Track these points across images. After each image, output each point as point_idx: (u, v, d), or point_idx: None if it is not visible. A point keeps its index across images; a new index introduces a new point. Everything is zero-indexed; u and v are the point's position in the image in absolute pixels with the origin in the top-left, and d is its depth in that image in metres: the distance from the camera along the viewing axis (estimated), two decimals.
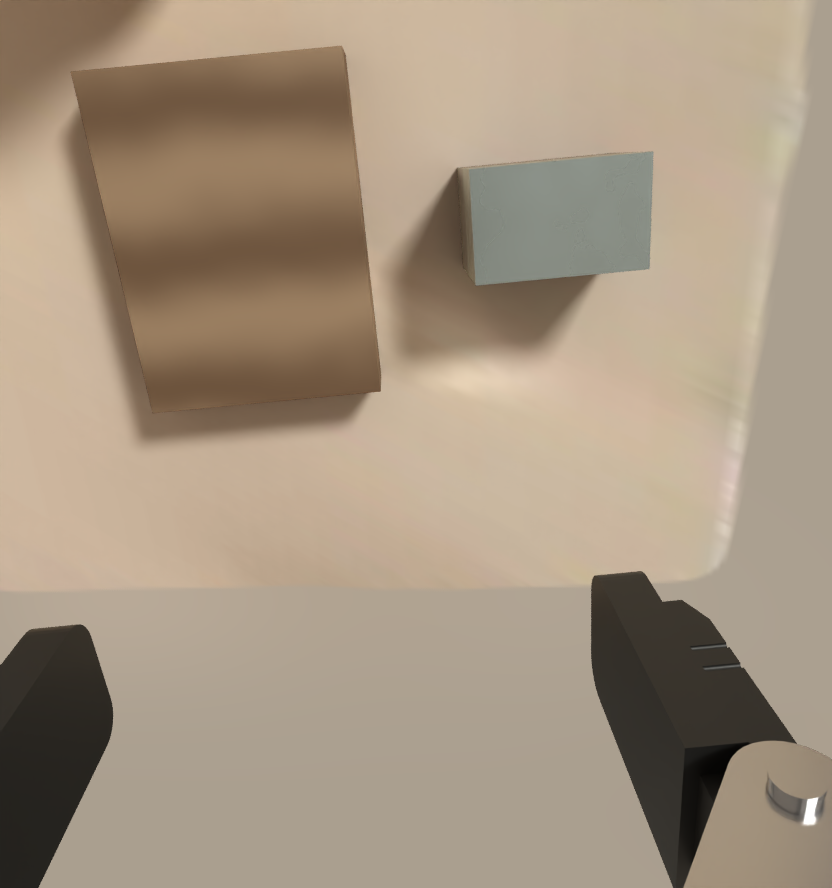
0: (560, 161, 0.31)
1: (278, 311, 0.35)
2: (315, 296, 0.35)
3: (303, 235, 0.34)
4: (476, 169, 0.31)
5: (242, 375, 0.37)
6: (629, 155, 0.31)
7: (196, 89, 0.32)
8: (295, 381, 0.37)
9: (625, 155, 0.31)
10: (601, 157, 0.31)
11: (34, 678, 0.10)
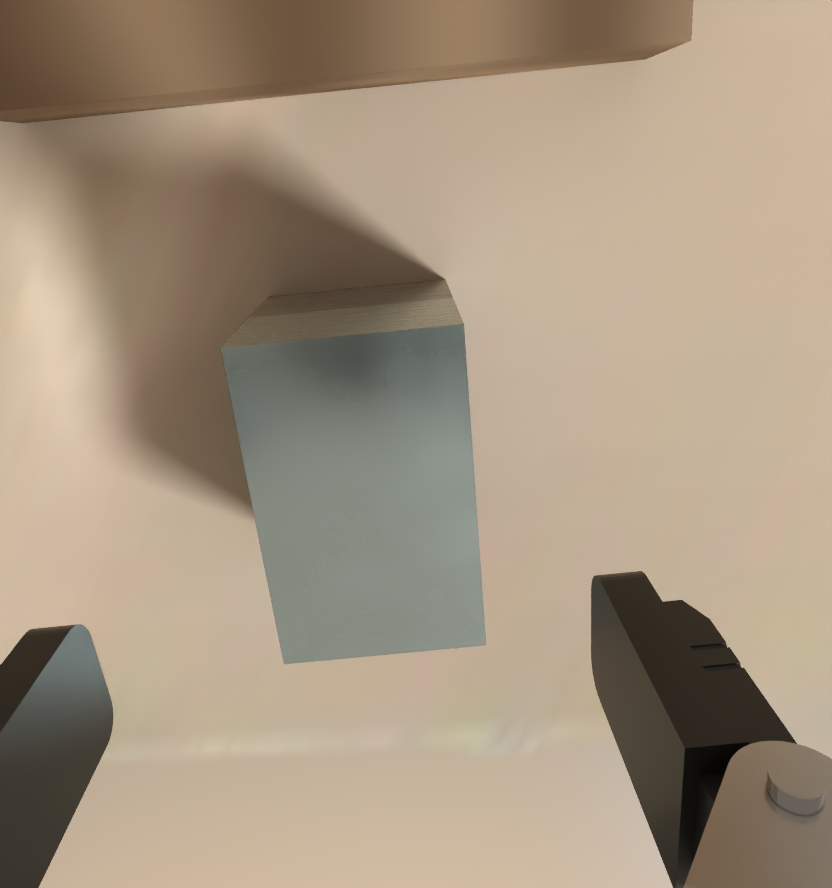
0: (473, 498, 0.16)
1: None
2: None
3: None
4: (462, 339, 0.15)
5: None
6: (480, 609, 0.17)
7: None
8: None
9: (481, 603, 0.17)
10: (478, 566, 0.17)
11: (34, 678, 0.10)
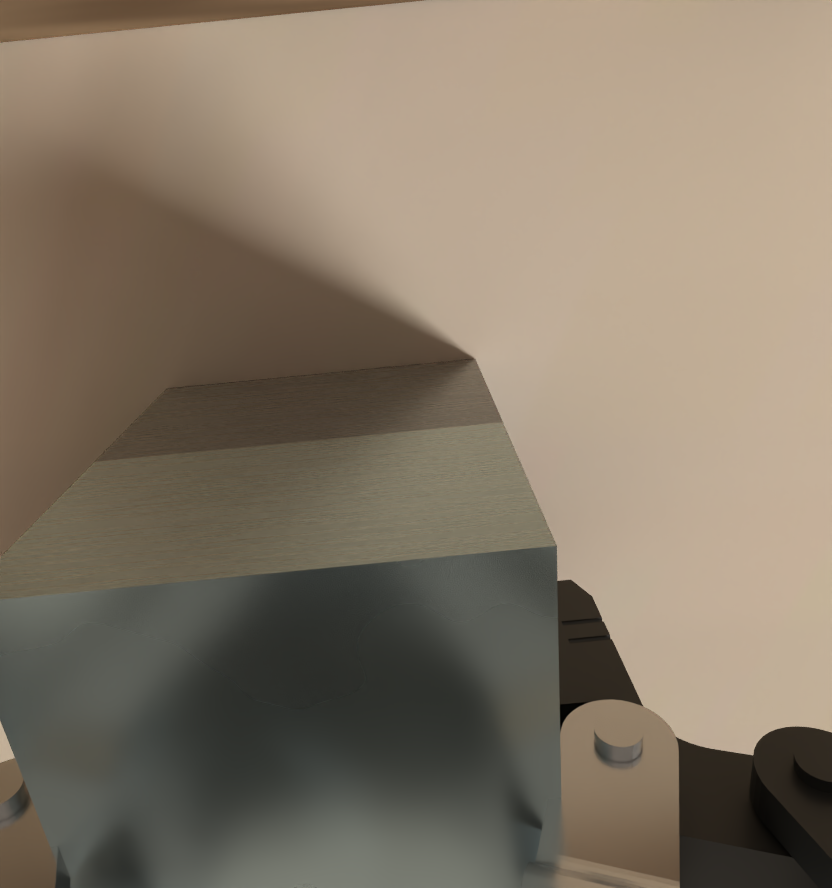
0: None
1: None
2: None
3: None
4: (551, 578, 0.06)
5: None
6: None
7: None
8: None
9: None
10: None
11: None
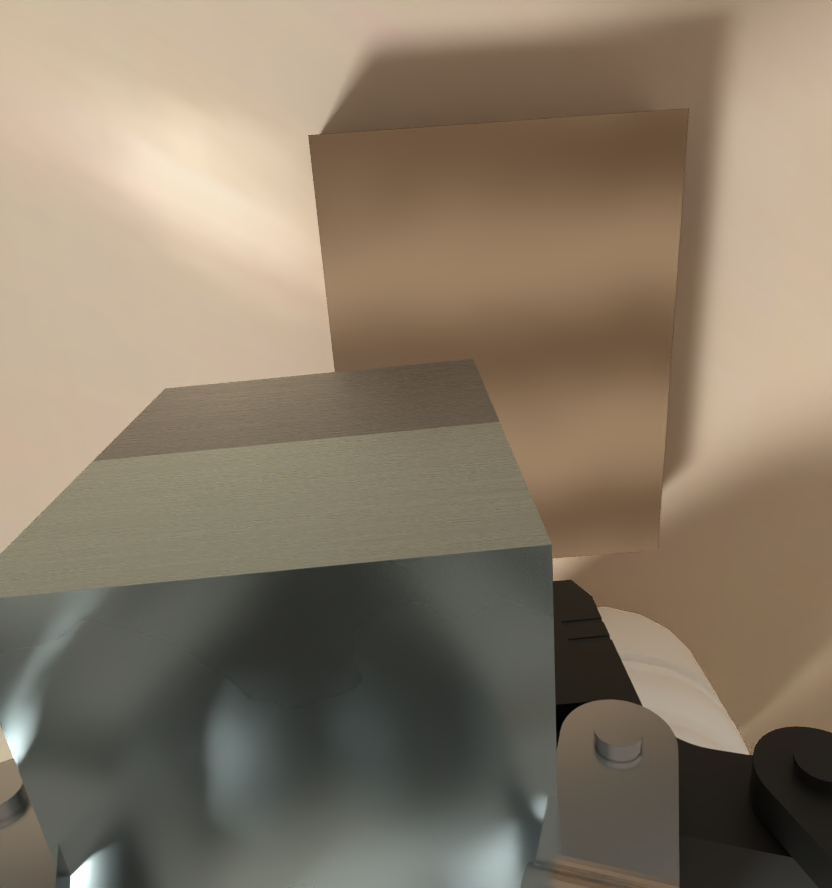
0: None
1: (461, 275, 0.24)
2: (406, 296, 0.24)
3: None
4: (547, 576, 0.06)
5: (531, 173, 0.23)
6: None
7: None
8: (447, 158, 0.23)
9: None
10: None
11: None
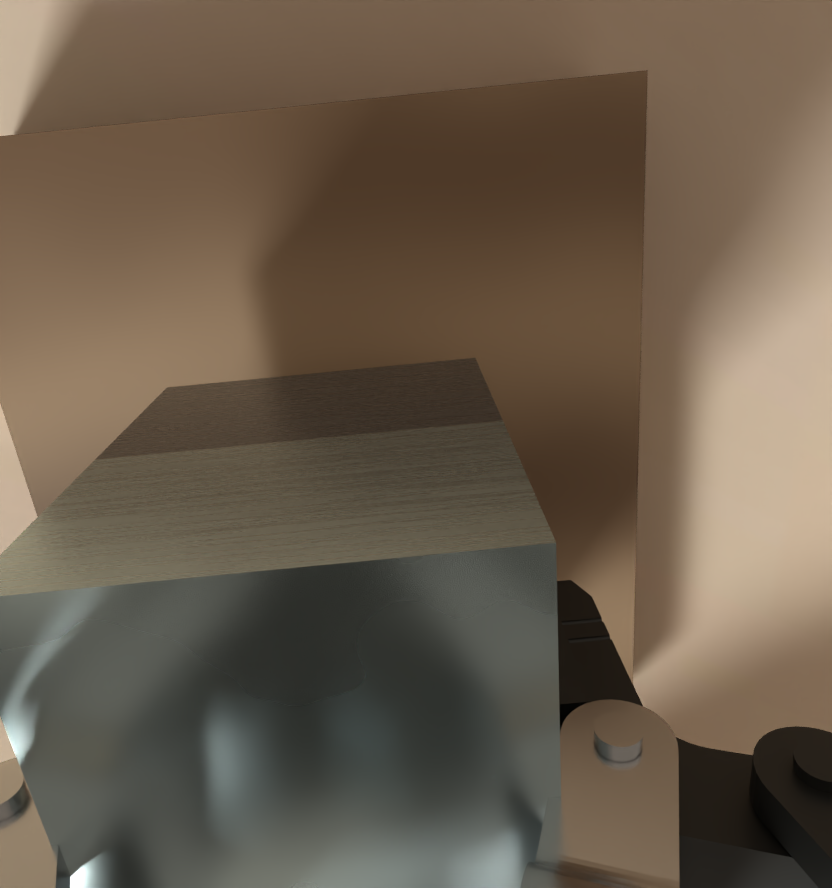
0: None
1: None
2: None
3: None
4: (551, 575, 0.06)
5: (354, 203, 0.12)
6: None
7: None
8: (191, 181, 0.12)
9: None
10: None
11: None
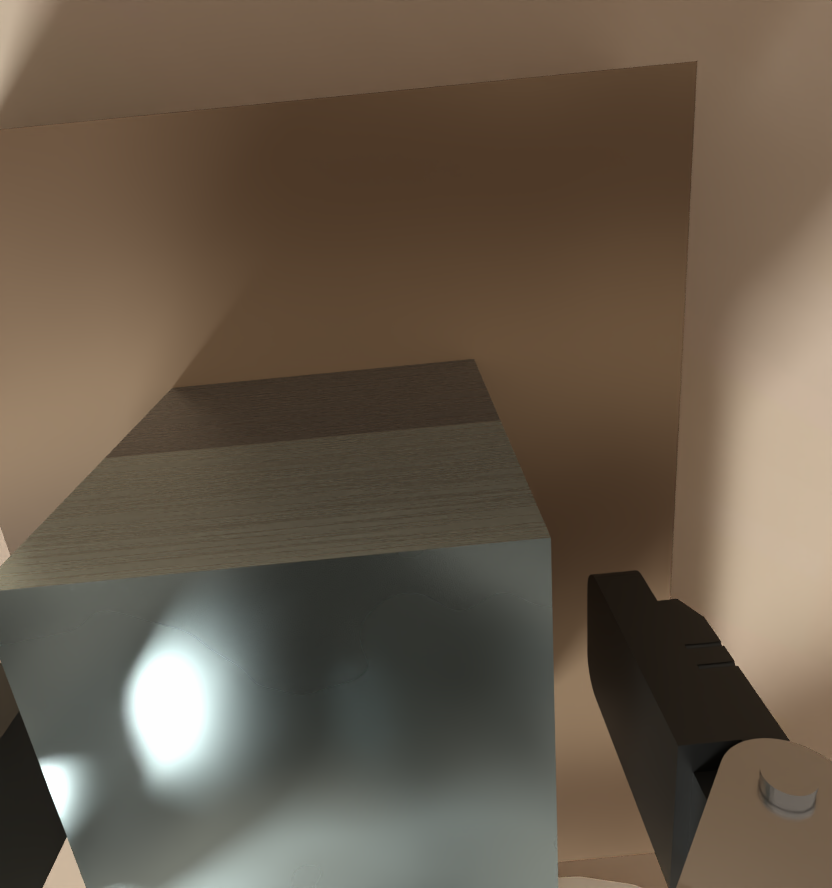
0: (553, 860, 0.08)
1: None
2: None
3: None
4: (546, 568, 0.06)
5: (364, 210, 0.11)
6: None
7: None
8: (180, 184, 0.11)
9: None
10: None
11: None
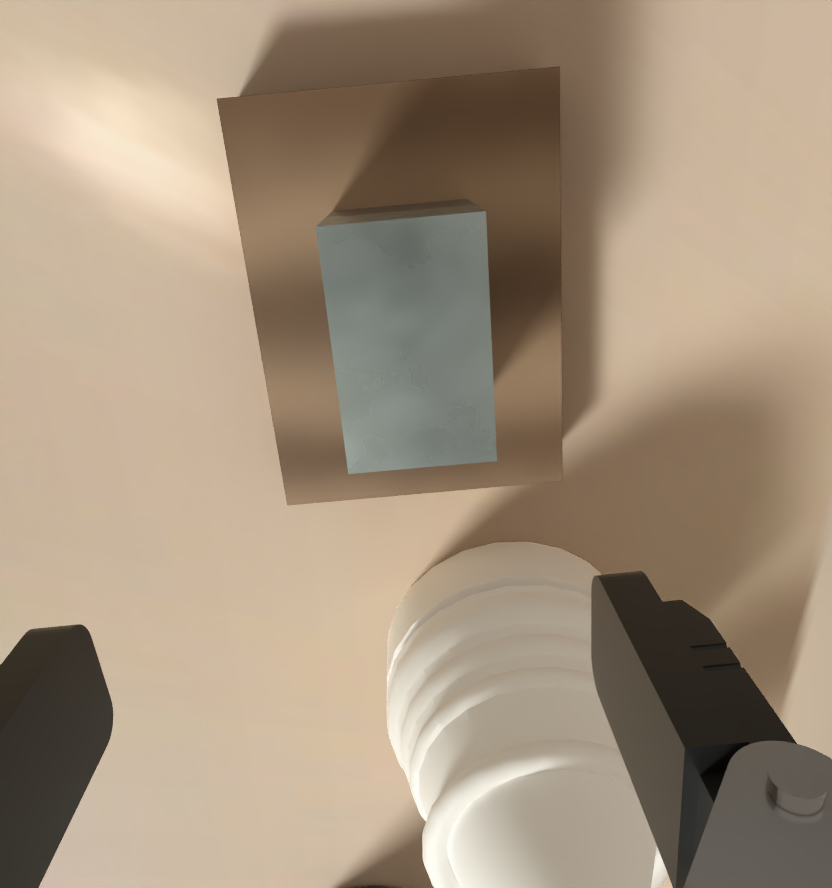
0: (490, 343, 0.22)
1: None
2: (314, 245, 0.27)
3: None
4: (484, 222, 0.21)
5: (420, 129, 0.25)
6: (493, 432, 0.23)
7: (438, 467, 0.30)
8: (343, 117, 0.25)
9: (493, 427, 0.23)
10: (492, 397, 0.23)
11: (34, 678, 0.10)
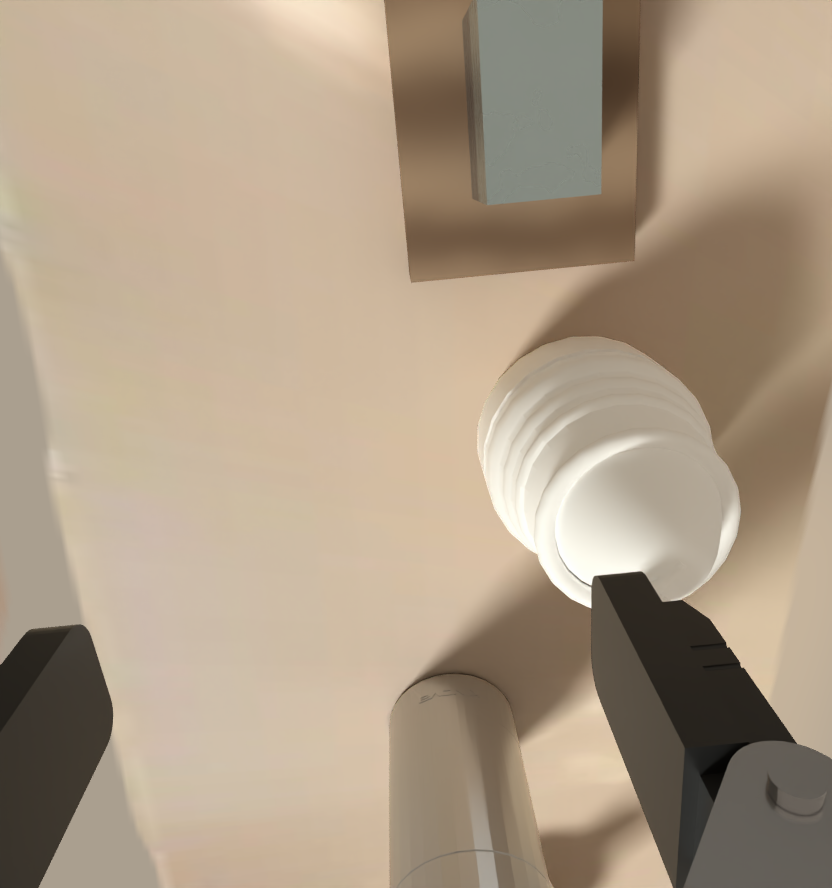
0: (600, 91, 0.29)
1: None
2: (446, 50, 0.34)
3: (454, 116, 0.35)
4: None
5: None
6: (599, 169, 0.31)
7: (535, 247, 0.38)
8: None
9: (600, 164, 0.30)
10: (600, 138, 0.30)
11: (34, 678, 0.10)
